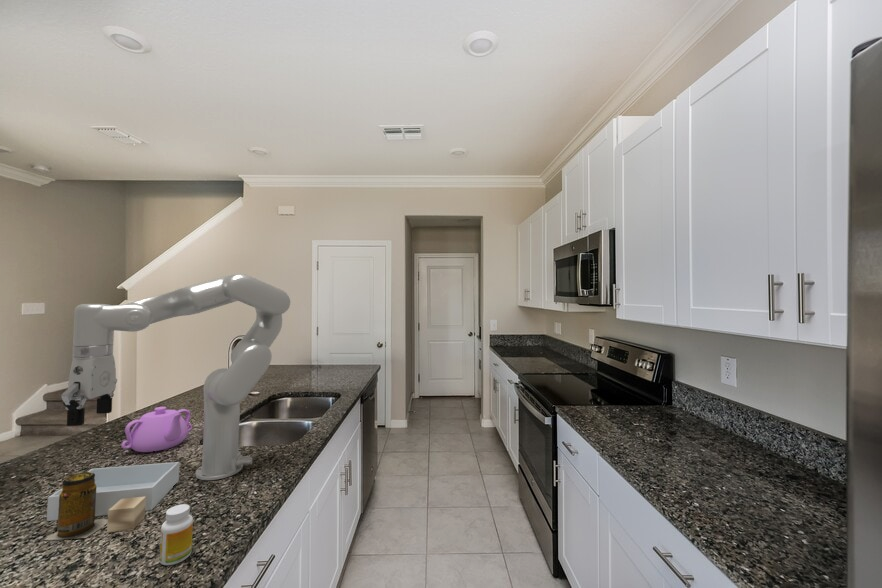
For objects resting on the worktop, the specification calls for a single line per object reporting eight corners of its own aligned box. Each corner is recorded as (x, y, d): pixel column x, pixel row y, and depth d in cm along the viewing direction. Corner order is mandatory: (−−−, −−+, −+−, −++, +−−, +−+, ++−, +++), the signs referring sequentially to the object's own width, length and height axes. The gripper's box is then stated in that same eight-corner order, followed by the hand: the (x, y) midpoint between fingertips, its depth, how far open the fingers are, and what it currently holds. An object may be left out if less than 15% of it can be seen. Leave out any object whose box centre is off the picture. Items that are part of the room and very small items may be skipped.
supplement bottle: (198, 550, 76) (200, 504, 76) (173, 568, 71) (175, 518, 71) (178, 546, 77) (180, 500, 78) (152, 563, 72) (154, 514, 72)
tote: (178, 481, 105) (179, 461, 105) (151, 510, 90) (152, 487, 91) (90, 489, 100) (91, 468, 100) (46, 521, 85) (48, 497, 85)
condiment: (74, 521, 85) (77, 469, 86) (112, 519, 86) (115, 469, 87) (43, 541, 78) (46, 485, 79) (85, 539, 79) (88, 484, 79)
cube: (144, 517, 88) (145, 496, 88) (133, 529, 83) (134, 507, 83) (120, 519, 86) (121, 498, 86) (107, 532, 81) (108, 510, 82)
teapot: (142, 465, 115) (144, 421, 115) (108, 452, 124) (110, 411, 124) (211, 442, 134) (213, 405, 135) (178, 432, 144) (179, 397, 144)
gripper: (85, 356, 85) (81, 429, 84) (131, 347, 101) (129, 408, 101) (46, 357, 83) (43, 431, 83) (100, 347, 100) (97, 409, 99)
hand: (90, 418), depth 92 cm, fingers open, 9 cm apart
